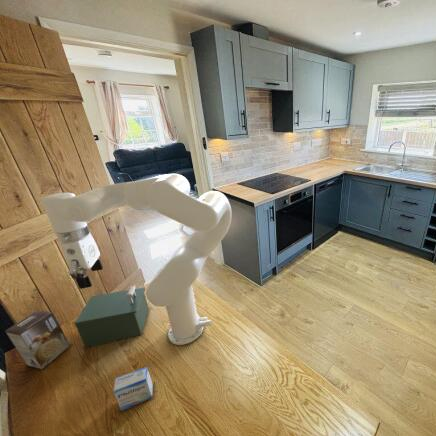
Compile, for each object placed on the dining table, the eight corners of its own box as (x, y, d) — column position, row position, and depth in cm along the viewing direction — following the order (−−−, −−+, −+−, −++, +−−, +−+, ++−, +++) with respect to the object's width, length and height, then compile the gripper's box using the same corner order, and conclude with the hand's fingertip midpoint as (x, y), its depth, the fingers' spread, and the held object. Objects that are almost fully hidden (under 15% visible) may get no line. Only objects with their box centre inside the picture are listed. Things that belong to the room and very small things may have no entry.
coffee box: (56, 342, 86) (39, 308, 80) (71, 345, 85) (54, 311, 79) (26, 366, 78) (3, 330, 72) (41, 370, 77) (20, 334, 71)
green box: (148, 309, 102) (143, 289, 98) (141, 334, 90) (134, 313, 86) (100, 318, 97) (92, 297, 92) (85, 347, 85) (75, 324, 80)
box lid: (145, 288, 98) (142, 277, 95) (136, 312, 86) (133, 300, 84) (92, 297, 92) (87, 286, 90) (75, 324, 80) (69, 312, 78)
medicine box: (121, 411, 67) (112, 392, 63) (122, 396, 70) (114, 377, 67) (152, 398, 70) (146, 379, 67) (153, 384, 74) (146, 365, 70)
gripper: (75, 244, 67) (95, 292, 73) (98, 220, 82) (113, 262, 88) (41, 248, 64) (65, 297, 71) (71, 223, 79) (89, 266, 86)
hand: (92, 278), depth 80 cm, fingers open, 9 cm apart
